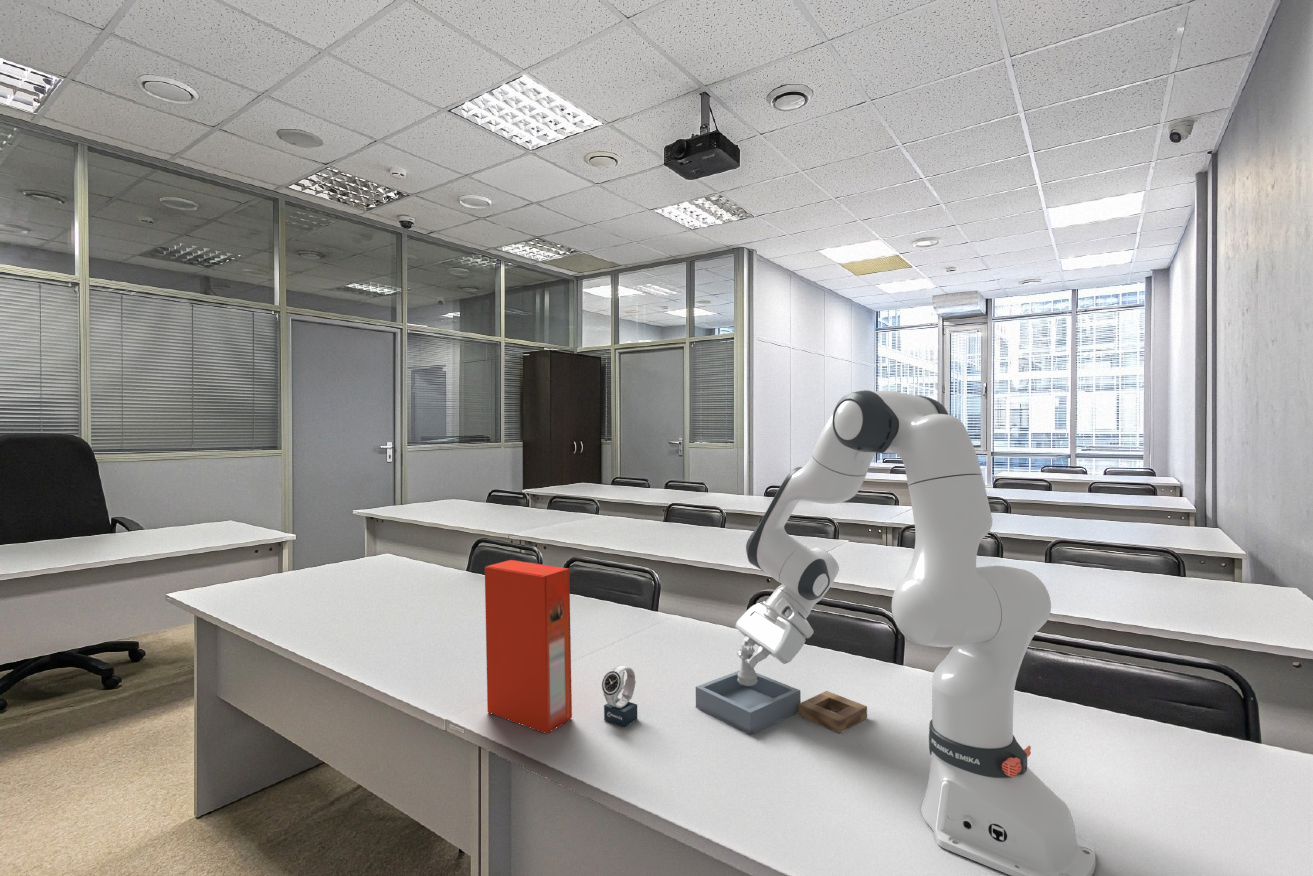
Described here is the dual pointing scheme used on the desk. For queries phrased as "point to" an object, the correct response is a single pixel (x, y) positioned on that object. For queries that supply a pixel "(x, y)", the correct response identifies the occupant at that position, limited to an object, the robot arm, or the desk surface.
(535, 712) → the file binder
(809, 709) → the socket block
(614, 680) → the watch
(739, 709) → the tray
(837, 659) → the desk surface
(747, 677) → the rook chess piece
